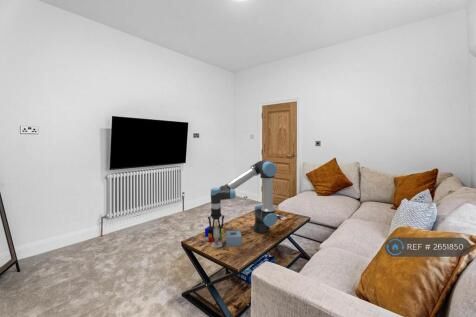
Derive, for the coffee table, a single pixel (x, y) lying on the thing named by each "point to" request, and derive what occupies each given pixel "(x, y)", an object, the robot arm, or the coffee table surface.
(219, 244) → the tool mat
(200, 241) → the coffee table surface
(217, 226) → the chuck key
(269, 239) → the coffee table surface
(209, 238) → the puzzle toy
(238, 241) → the block
